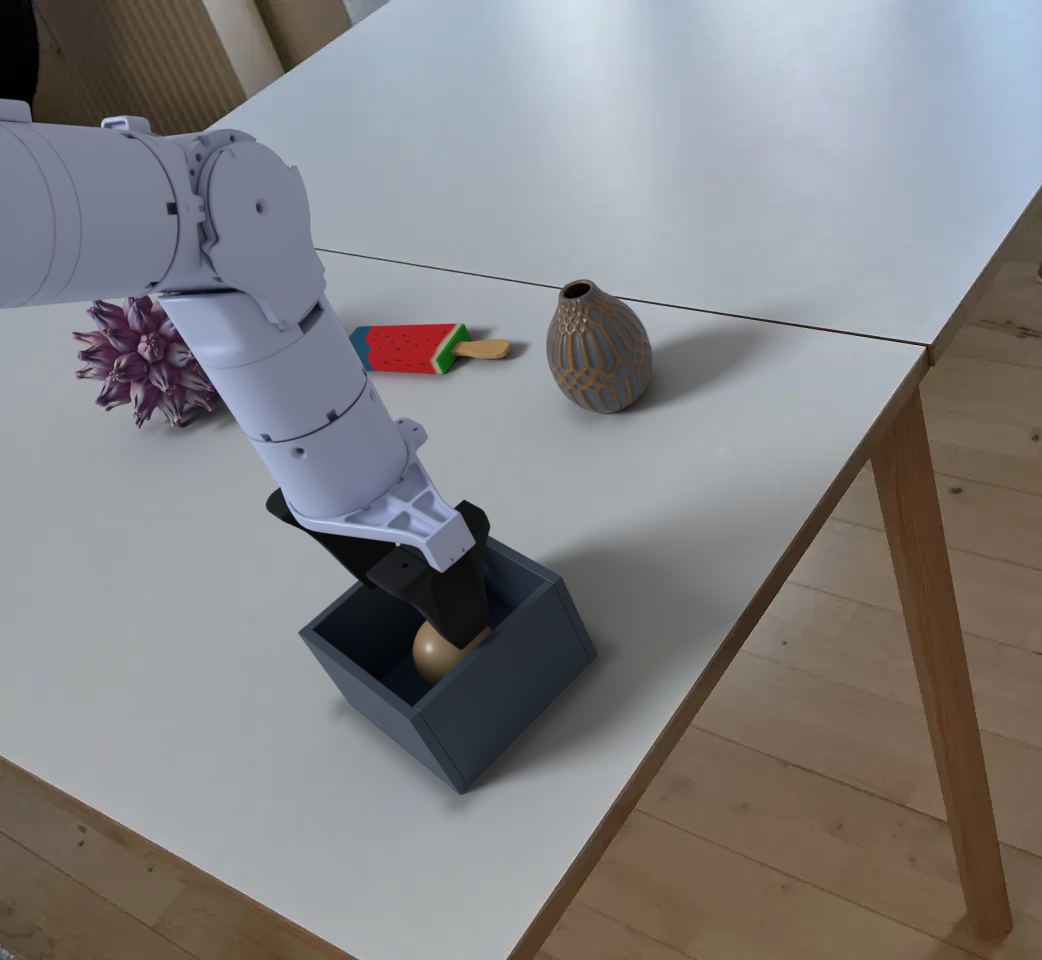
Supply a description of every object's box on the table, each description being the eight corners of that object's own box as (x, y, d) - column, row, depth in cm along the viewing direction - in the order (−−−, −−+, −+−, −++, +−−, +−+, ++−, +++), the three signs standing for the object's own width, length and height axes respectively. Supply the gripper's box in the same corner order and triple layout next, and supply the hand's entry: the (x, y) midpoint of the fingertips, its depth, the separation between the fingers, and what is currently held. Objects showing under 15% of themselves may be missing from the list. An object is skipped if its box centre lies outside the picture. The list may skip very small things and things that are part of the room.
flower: (269, 428, 88) (112, 478, 84) (237, 360, 96) (93, 402, 92) (227, 299, 80) (53, 347, 76) (196, 238, 89) (39, 278, 85)
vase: (676, 364, 77) (644, 257, 71) (641, 430, 72) (604, 322, 67) (589, 362, 80) (551, 259, 74) (550, 425, 75) (507, 321, 70)
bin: (460, 795, 55) (410, 721, 51) (349, 704, 62) (297, 632, 57) (598, 654, 59) (562, 576, 55) (481, 583, 66) (441, 508, 62)
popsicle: (491, 360, 81) (330, 357, 87) (498, 375, 82) (338, 372, 88) (517, 322, 84) (359, 322, 90) (523, 338, 84) (367, 337, 91)
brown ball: (464, 722, 58) (433, 672, 55) (416, 685, 61) (383, 635, 58) (523, 664, 60) (496, 612, 57) (474, 631, 63) (445, 580, 60)
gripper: (475, 388, 45) (575, 606, 53) (293, 310, 54) (403, 506, 63) (339, 498, 42) (469, 709, 50) (171, 395, 51) (305, 589, 60)
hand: (426, 603), depth 56 cm, fingers open, 7 cm apart
